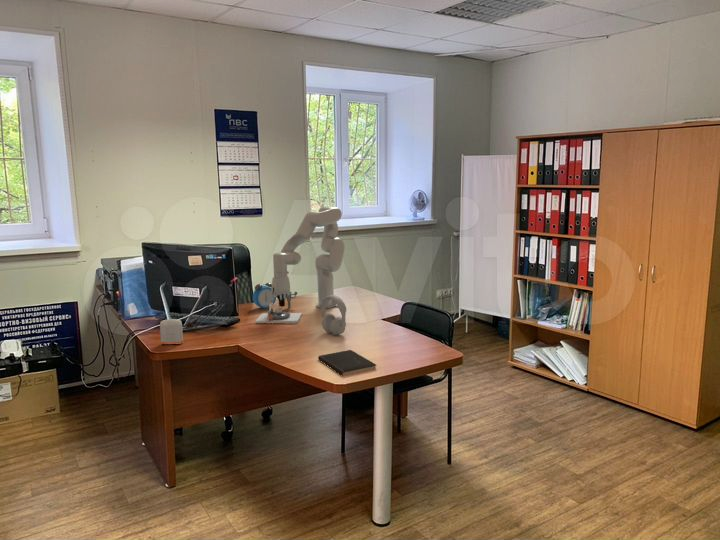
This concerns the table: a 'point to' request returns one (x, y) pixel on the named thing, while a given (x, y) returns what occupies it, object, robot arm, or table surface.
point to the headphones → (329, 320)
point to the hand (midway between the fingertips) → (282, 306)
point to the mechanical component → (290, 298)
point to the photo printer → (171, 330)
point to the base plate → (292, 319)
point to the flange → (277, 313)
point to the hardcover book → (347, 362)
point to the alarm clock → (263, 295)
